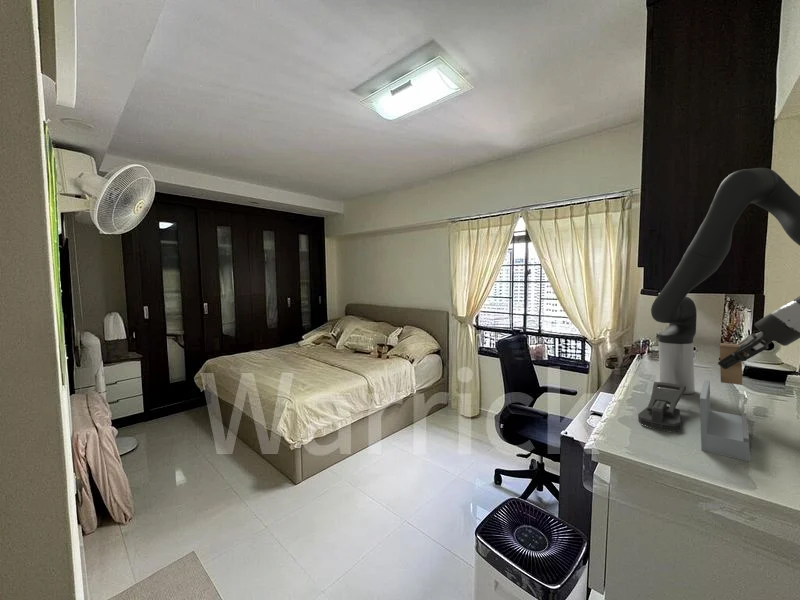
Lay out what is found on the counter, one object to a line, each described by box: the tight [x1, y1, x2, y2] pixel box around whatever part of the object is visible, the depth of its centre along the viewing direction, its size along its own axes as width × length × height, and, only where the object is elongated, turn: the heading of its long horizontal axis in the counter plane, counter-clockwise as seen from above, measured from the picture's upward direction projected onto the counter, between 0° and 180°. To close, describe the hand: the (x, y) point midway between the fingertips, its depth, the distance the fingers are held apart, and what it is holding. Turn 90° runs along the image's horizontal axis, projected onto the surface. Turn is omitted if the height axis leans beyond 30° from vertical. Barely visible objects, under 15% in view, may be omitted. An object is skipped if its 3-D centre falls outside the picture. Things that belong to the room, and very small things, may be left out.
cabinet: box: [719, 342, 746, 386], centre depth 86 cm, size 5×5×10 cm
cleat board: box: [699, 379, 751, 462], centre depth 76 cm, size 18×7×12 cm, turn 134°
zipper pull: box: [637, 381, 686, 433], centre depth 92 cm, size 9×7×25 cm
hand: (721, 363), depth 88 cm, fingers closed on cabinet, 5 cm apart
